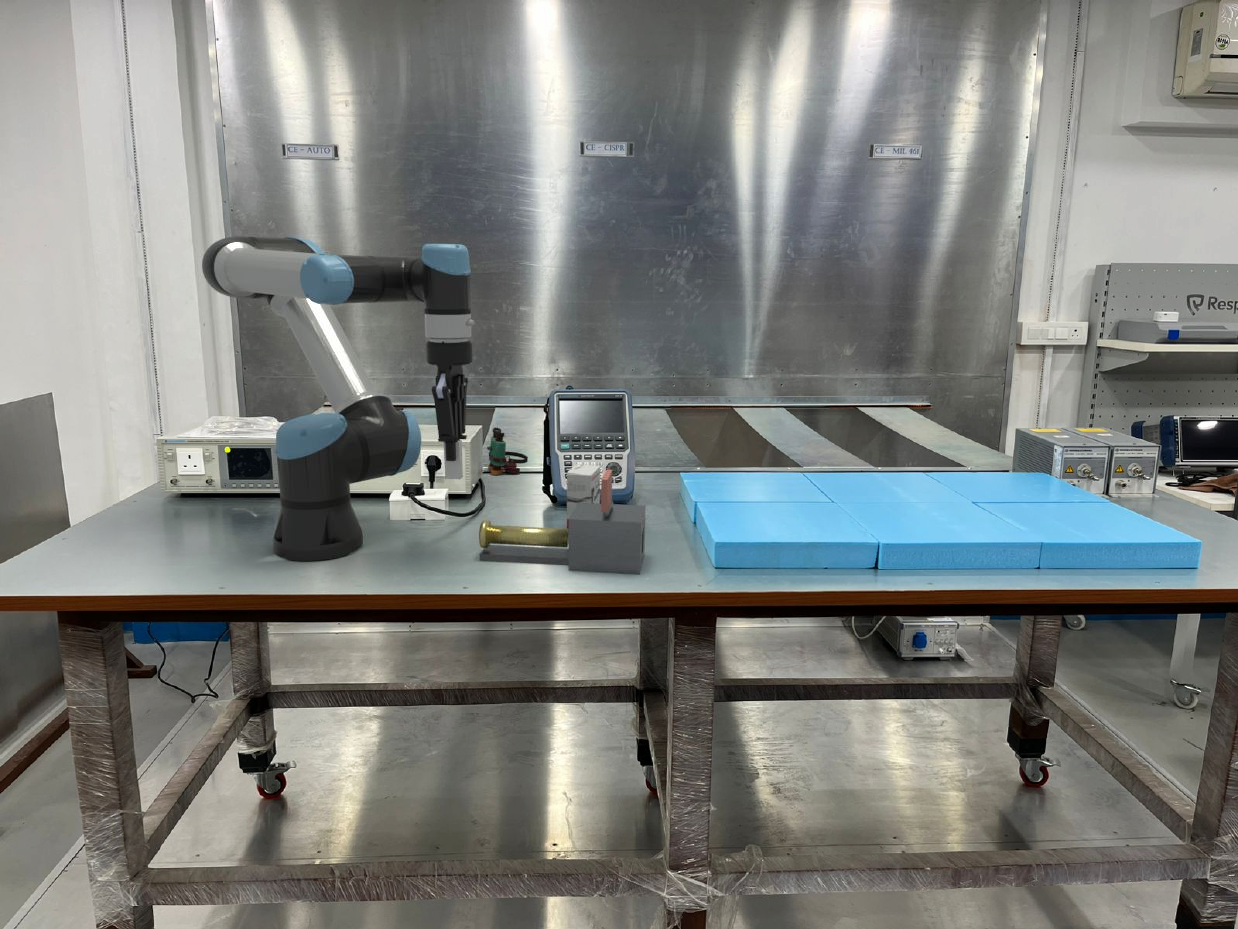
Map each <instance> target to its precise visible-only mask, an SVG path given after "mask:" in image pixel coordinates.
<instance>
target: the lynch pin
mask: <svg viewBox="0 0 1238 929" xmlns="http://www.w3.org/2000/svg"><path fill="white" fill-rule="evenodd" d="M478 531H479V532H478V543H479V547H480V548H481V549H484V548H488V547H489V546H490V545H507V546H527V547H547V548H569V529H567V528H560V527H559V528H558V527H557V528H556V527H537V526H536V527H535V526H532V527H531V526H517V525H516V526H514V525H495V524H494V525H493V524H492V522H491V520H487V519H485V520H484V519H483V520H481V522H480V526H479V530H478Z"/></svg>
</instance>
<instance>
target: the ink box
mask: <svg viewBox="0 0 1238 929" xmlns="http://www.w3.org/2000/svg"><path fill="white" fill-rule="evenodd" d="M577 503H597V504H601V465H592V464H584V463H583V464H582V463H577V464H575V465H573V467H572V468H570V469H569V470H568V471H567V473H566V529H569V518H570V516H571V514H572V512H573V511H574V509H575V507H576V505H577Z"/></svg>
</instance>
